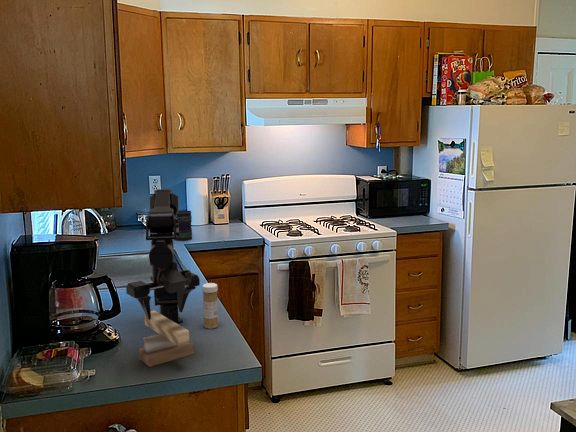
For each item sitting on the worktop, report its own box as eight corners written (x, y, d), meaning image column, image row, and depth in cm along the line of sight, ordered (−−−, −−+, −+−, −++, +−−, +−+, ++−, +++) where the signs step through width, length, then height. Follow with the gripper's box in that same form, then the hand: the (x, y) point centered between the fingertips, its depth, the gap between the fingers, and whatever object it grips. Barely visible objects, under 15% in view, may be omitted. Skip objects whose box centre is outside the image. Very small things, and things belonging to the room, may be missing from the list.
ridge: (139, 359, 151) (138, 336, 150) (183, 347, 159) (182, 325, 158) (149, 366, 146) (148, 343, 145) (193, 354, 154) (192, 331, 153)
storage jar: (195, 239, 302) (194, 212, 299) (177, 242, 297) (176, 213, 294) (188, 236, 310) (187, 209, 308) (170, 238, 305) (169, 211, 302)
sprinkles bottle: (212, 322, 178) (211, 281, 176) (221, 326, 175) (220, 284, 173) (200, 326, 175) (199, 284, 173) (209, 330, 172) (208, 287, 169)
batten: (189, 343, 145) (188, 330, 144) (178, 346, 143) (178, 333, 142) (154, 322, 160) (154, 310, 160) (144, 324, 158) (144, 312, 158)
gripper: (142, 270, 136) (145, 332, 139) (209, 258, 148) (211, 316, 150) (124, 261, 145) (127, 320, 147) (188, 251, 156) (190, 305, 159)
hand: (165, 315), depth 151 cm, fingers open, 9 cm apart
